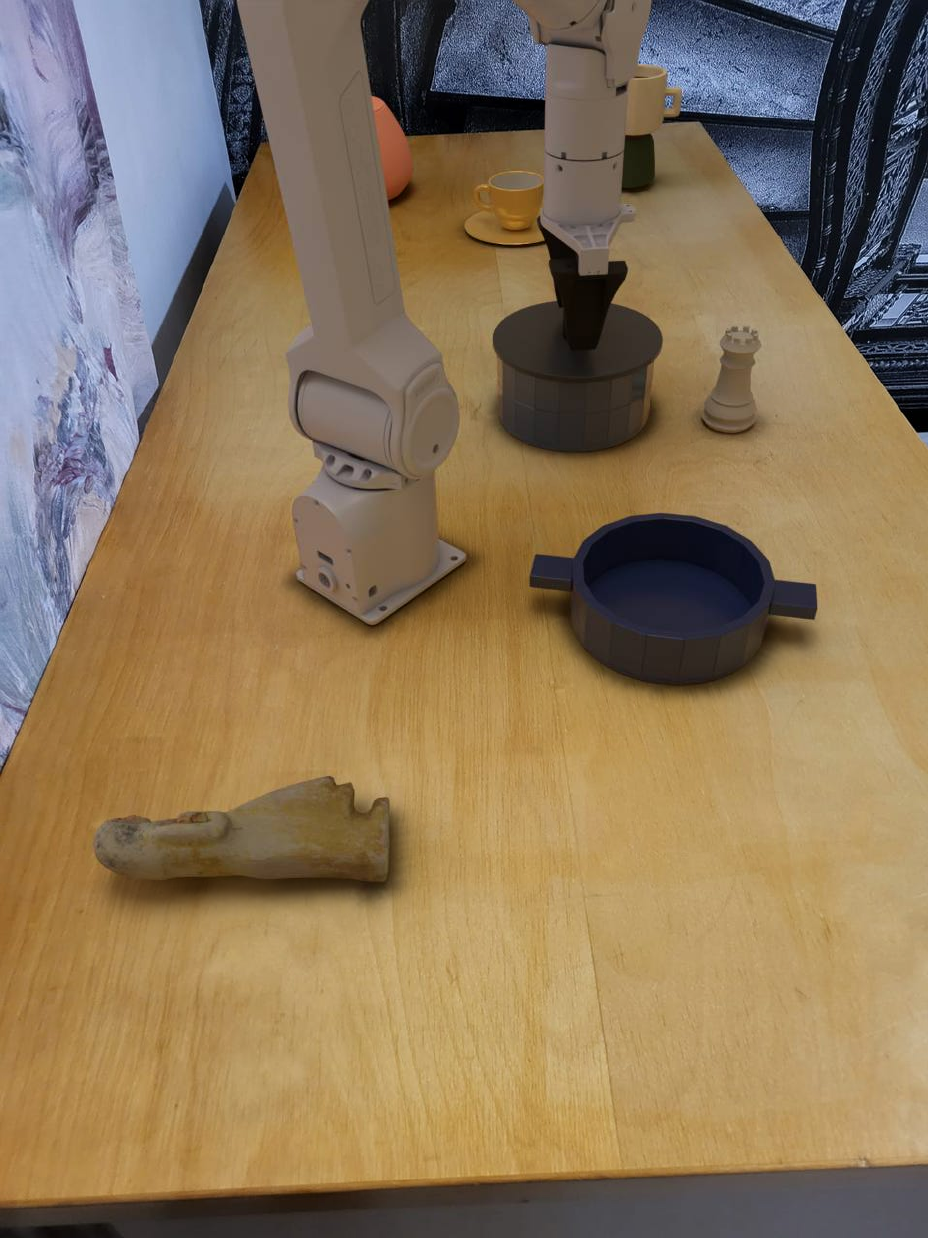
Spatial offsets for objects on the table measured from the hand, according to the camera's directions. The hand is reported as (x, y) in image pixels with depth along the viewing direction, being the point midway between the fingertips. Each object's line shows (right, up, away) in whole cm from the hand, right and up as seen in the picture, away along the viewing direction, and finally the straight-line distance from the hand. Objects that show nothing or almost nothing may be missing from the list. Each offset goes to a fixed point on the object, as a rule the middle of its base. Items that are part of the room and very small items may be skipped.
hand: (576, 326), depth 81 cm
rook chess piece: (+13, -7, +3) cm, 15 cm away
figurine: (-20, -36, -28) cm, 50 cm away
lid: (0, -1, +1) cm, 1 cm away
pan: (+4, -24, -15) cm, 28 cm away
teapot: (-23, +31, +48) cm, 62 cm away
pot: (0, -6, +5) cm, 8 cm away
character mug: (+12, +31, +47) cm, 58 cm away
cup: (-3, +22, +37) cm, 43 cm away
